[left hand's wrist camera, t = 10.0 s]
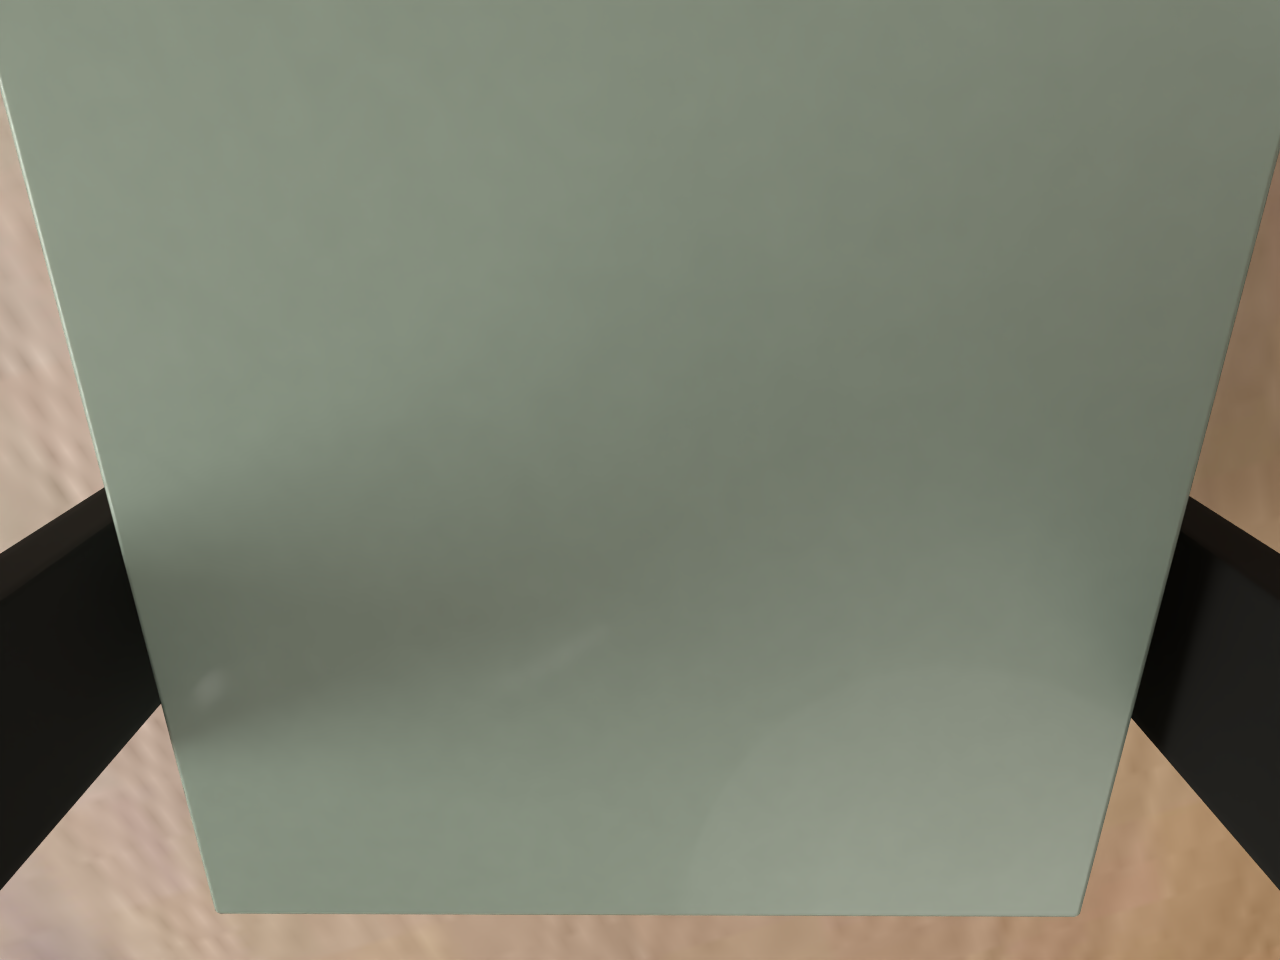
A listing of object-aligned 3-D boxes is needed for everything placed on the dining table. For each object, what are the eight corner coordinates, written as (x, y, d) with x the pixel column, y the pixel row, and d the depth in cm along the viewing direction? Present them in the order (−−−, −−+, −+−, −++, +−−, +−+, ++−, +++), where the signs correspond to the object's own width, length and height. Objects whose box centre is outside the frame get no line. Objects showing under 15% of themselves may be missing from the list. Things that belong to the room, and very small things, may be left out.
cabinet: (227, -688, 12) (-683, -2484, 4) (1065, -699, 11) (1996, -2559, 4) (393, 594, 19) (213, 916, 11) (900, 593, 19) (1080, 919, 11)
